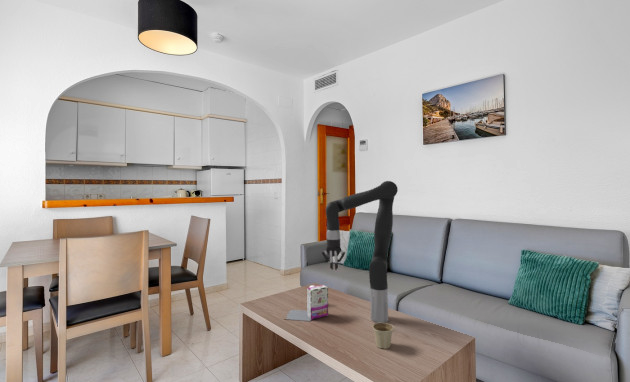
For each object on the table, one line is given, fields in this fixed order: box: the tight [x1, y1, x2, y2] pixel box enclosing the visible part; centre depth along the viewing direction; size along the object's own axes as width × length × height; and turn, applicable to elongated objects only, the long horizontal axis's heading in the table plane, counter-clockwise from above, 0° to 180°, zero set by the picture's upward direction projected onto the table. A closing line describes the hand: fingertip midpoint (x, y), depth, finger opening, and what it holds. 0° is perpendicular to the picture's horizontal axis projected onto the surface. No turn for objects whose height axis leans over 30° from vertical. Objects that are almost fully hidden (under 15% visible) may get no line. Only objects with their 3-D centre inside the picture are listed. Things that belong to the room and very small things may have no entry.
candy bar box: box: [306, 284, 329, 321], centre depth 176 cm, size 11×5×16 cm, turn 119°
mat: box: [285, 309, 312, 322], centre depth 178 cm, size 15×13×1 cm
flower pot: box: [372, 322, 394, 350], centre depth 143 cm, size 9×9×9 cm
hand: (334, 269), depth 174 cm, fingers closed
